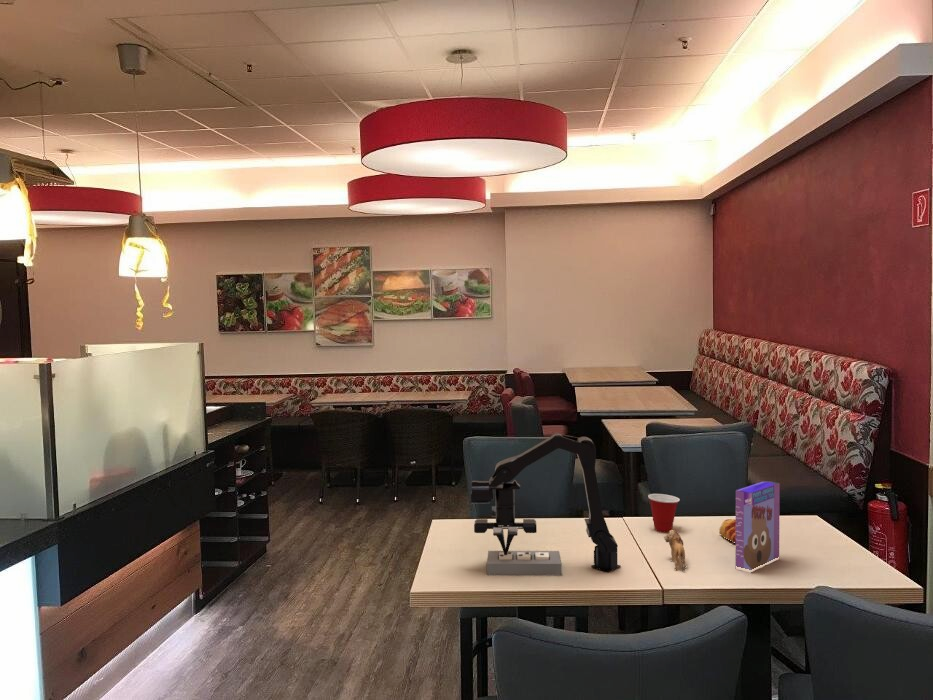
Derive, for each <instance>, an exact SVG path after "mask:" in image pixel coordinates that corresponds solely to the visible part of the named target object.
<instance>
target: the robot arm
mask: <svg viewBox="0 0 933 700" xmlns="http://www.w3.org/2000/svg"><path fill="white" fill-rule="evenodd" d="M558 449H560V450H562V451H563V450H564V451H566V452H570V453H572V454H576V455H577V456H576V457H577V459H578V461H579V464H580V467H581V470H582V475H583V481H584V482H583V483H584V487H585V489H584V490H585V494H586V500H587V506H588V512H589V513H588V518H584V523H585V526H586V529H585V532H586V534H587V536H588V538H590V539H591V542H592V543H593V544H595V546H594V550H593V564H592V565H591V568H593V569H596V570H599V571H601V572H602V571H603V572H606V573H609V572H612V571H615V570H617V569H620V568H621V565H620V564H618V543H617V541H616V539H615V538H614V536H613V535H612V533H610V531H609V530H610V529H609V527H608V525H607V522H606V520H605V517H604V514H603V509H602V503H601V497H600V491H599V486H598V485H599V484H598V479H597V473H596V462H597V448H596V445H595V443H594V442H593V440H592V439H591V438H589V437H587V436H580V437H575V436H572V435H565V434H561V433H560V432H555V433H553V434H552V435H551V436H549V437H548V438H546V439H544V440H542V441H541V442H539V443H538V444H536V445H534V446H532V447H531V448H528V449H527V450H526V451H524V452H522V453H520V454H518V455H514V456H510V457H508V458H505V459H503V460H500V461H498V462H497V463H496V464H495V468H494V473H493V474H492V475H491V477H490V478H489V479H488V480H471V491H470V502H471V504H490V503H491V502H492V501H493V500H494V495H495V505H492V506H491V518H492V517H493V518H495V522H488V519H487V518H477V519H475V520H474V524H473V529H474V530H473V532H474V534H485V533H487V532H488V530H492V531H493V532H492V535H493V536H494V537H495V536H496V538H497V539H498V542H499V543H500V545H501V549H502V551H503V552H504V554H507V553H508V551H510V550H509V549H510V546H511V543H512V541H513V539H514V537H515V536H518V530H523V532H524V533H526V534H536V533H537V530H538V529H537V521H536V519H535V518H523V519H522V521H523V522H516V514H515V513H516V512H515V490H520V489H521V484H520V483H518V482H517V480H516V479H515V478H516V477H517V476H518V475H520V473H521V472H523V471H524V469H526V468H527V467H529V466H530V465H533V464H534V463H536V462H537V461H539V460H541V459H542V458H544V457H546V456H547V455H549V454H552V453H553V452H554V451H556V450H558ZM494 490H495V491H494ZM494 492H495V494H494ZM504 530H507V534H506V540H505V533H504Z"/></svg>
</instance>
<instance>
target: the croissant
mask: <svg viewBox="0 0 933 700" xmlns="http://www.w3.org/2000/svg"><path fill="white" fill-rule="evenodd" d="M720 534H721V535H720ZM719 535H720V536H722V538H723V537H725V538H727V539H729V540H731V541H733V542H735V543H734V544H736V518H734V519H733V518H730V519H725V520H724V521H723V522H722V524H721V526H720V527H719ZM725 538H724V539H725ZM727 539H726V540H727ZM729 540H728V541H729ZM731 541H730V542H731ZM733 542H732V543H733Z"/></svg>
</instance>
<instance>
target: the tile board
mask: <svg viewBox="0 0 933 700" xmlns="http://www.w3.org/2000/svg"><path fill="white" fill-rule="evenodd" d="M499 552H503V550H488V551H487V558H486V559H487V560H486V575H487V576H489V575H490V576H562V575H563V573H562V572H563V571H562V570H563V568H562V567H563V566H562V559H561V558H562V557H561V553H560V550H508V552H512V560H499ZM517 552H530V555H531V560H517ZM535 552H548V553H549V560H535Z"/></svg>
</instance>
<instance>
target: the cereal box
mask: <svg viewBox="0 0 933 700" xmlns="http://www.w3.org/2000/svg"><path fill="white" fill-rule="evenodd" d="M780 486H781V483H779V482H776V481H771V480H770V481H769V480H763V481H761V482H760V481H759V482H758V483H754V484H751V485H748V486H745V487H742V488H738V489H736V490H735V519H736V543H735V567H736V566H737V567H741V568H745V569H749V570H752V569H754V568H756V567H758V566H760V565H763V564H765V563H767V562H769V561H771V560H773V559H775V558H778V557H779V558H780V510H781V509H780V503H781V501H780V498H781V497H780V493H781V492H780Z"/></svg>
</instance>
